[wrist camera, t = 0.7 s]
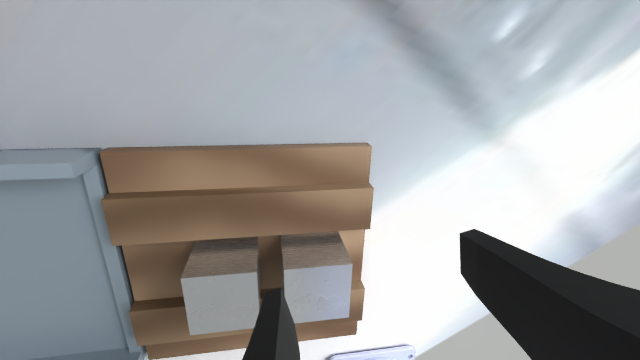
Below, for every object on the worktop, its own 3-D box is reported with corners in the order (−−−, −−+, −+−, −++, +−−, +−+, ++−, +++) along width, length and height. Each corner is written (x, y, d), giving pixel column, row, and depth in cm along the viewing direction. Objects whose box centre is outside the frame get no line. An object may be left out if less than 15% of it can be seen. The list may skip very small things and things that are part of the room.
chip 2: (335, 276, 23) (348, 317, 19) (281, 281, 22) (285, 324, 19) (337, 230, 22) (352, 264, 18) (280, 233, 21) (283, 269, 17)
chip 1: (261, 283, 22) (260, 327, 18) (202, 288, 21) (190, 335, 18) (258, 235, 21) (256, 272, 17) (196, 239, 20) (180, 278, 16)
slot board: (352, 324, 26) (359, 344, 24) (153, 348, 24) (143, 372, 22) (367, 142, 21) (376, 150, 19) (107, 147, 18) (90, 157, 16)
